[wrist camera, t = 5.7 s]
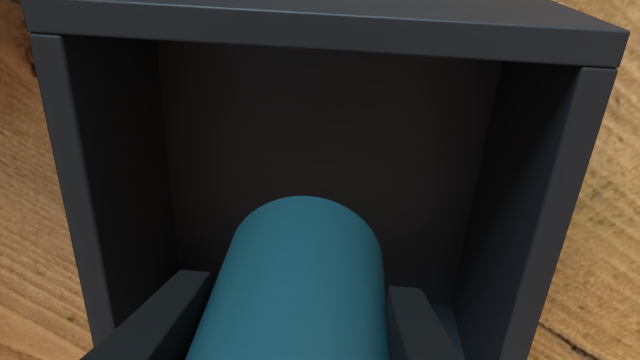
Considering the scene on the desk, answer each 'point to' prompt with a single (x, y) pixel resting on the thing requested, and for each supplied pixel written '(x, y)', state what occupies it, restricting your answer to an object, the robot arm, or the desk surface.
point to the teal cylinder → (297, 288)
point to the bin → (327, 139)
